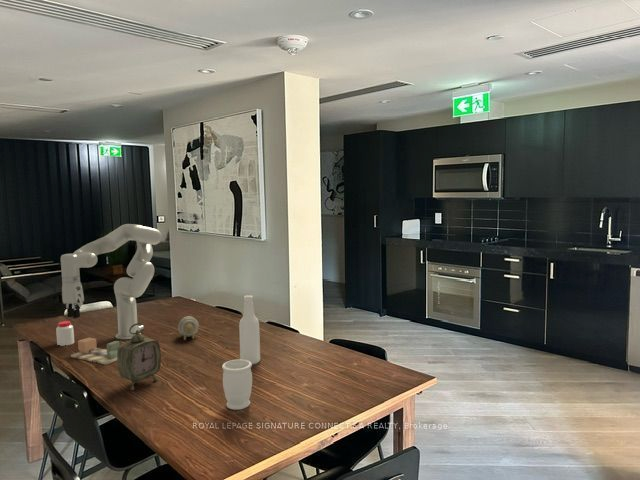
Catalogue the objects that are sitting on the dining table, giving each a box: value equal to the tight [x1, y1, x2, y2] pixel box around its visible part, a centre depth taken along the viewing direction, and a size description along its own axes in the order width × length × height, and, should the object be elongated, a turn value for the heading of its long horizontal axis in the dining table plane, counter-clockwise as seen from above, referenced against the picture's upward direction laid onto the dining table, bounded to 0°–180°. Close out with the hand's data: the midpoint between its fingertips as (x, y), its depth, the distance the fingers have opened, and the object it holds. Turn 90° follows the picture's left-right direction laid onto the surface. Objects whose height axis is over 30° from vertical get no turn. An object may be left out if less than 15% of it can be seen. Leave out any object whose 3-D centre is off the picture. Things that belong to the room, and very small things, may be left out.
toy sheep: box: [177, 315, 200, 341], centre depth 246 cm, size 11×17×11 cm, turn 23°
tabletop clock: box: [116, 322, 162, 391], centre depth 185 cm, size 14×9×25 cm, turn 148°
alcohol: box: [238, 294, 261, 366], centre depth 207 cm, size 9×9×30 cm
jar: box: [221, 359, 253, 411], centre depth 166 cm, size 11×10×15 cm
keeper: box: [77, 336, 98, 354], centre depth 222 cm, size 5×6×6 cm
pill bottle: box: [55, 320, 75, 347], centre depth 238 cm, size 8×8×11 cm
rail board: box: [70, 340, 120, 366], centre depth 218 cm, size 24×12×8 cm, turn 63°
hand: (73, 316), depth 224 cm, fingers open, 3 cm apart
